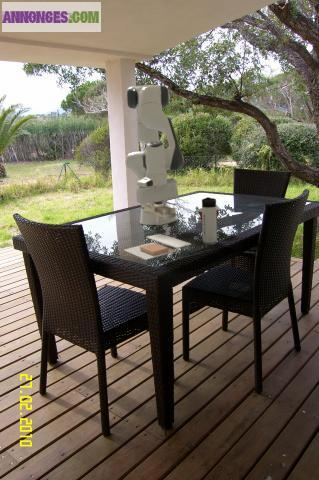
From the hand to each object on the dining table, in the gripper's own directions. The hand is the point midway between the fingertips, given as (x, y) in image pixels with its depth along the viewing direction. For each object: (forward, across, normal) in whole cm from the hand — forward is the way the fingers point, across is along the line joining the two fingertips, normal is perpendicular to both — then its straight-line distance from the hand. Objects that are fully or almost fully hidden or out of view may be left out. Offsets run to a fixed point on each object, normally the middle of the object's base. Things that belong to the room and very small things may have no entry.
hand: (158, 211), depth 177 cm
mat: (+15, +11, +8) cm, 20 cm away
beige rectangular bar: (+2, 0, 0) cm, 2 cm away
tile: (+13, +10, +5) cm, 17 cm away
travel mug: (+15, -16, +15) cm, 27 cm away
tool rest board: (+15, -3, +2) cm, 15 cm away
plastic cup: (+15, -28, +1) cm, 32 cm away
